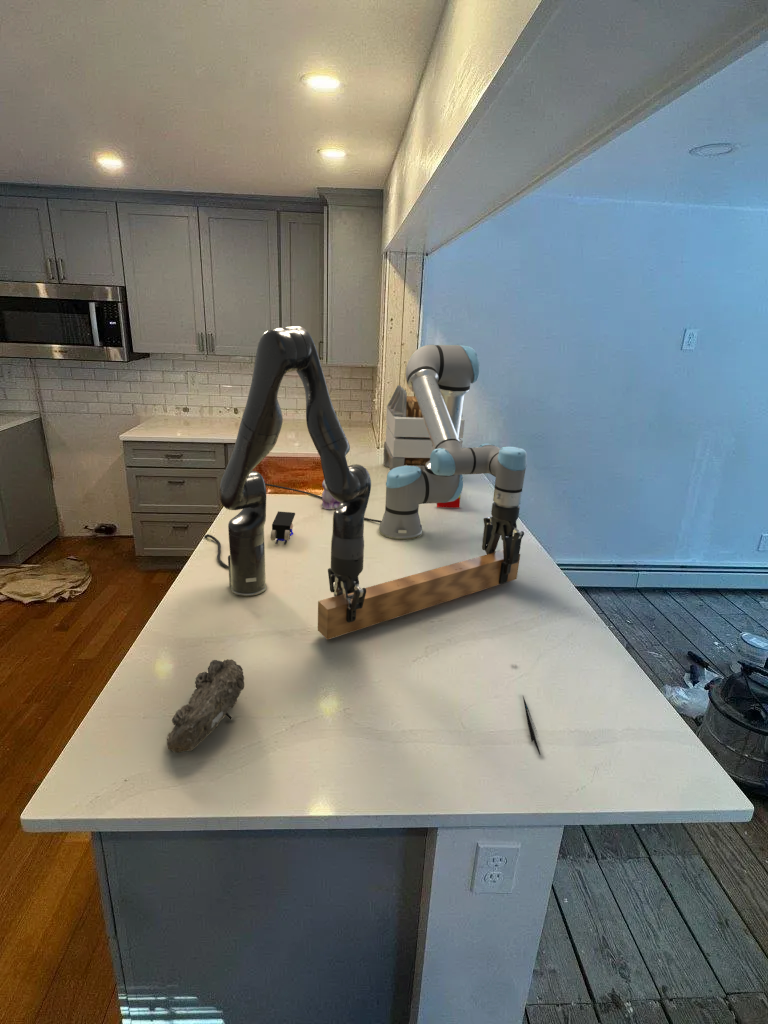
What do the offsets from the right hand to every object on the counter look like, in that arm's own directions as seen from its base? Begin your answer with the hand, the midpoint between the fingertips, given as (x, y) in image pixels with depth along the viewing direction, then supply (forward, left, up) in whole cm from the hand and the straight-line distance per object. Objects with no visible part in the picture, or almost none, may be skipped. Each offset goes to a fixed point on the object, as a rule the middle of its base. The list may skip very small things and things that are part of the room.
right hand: (496, 578), depth 165 cm
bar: (-3, -25, -1) cm, 26 cm away
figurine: (-83, +1, -2) cm, 83 cm away
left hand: (-5, -51, +3) cm, 51 cm away
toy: (-66, +47, -2) cm, 81 cm away
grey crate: (-98, +64, -2) cm, 118 cm away
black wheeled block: (-65, -32, -2) cm, 72 cm away
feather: (+38, -38, -2) cm, 54 cm away
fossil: (+3, -89, -2) cm, 89 cm away
